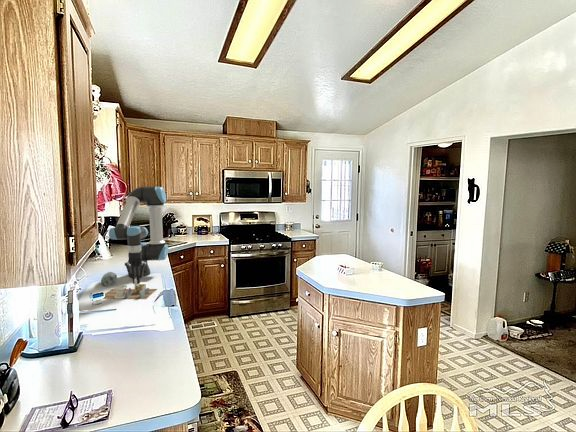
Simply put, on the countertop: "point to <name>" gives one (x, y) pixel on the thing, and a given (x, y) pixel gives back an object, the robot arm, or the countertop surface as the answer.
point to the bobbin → (120, 292)
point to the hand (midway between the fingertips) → (136, 288)
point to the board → (134, 295)
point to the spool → (108, 279)
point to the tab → (140, 287)
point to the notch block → (141, 293)
